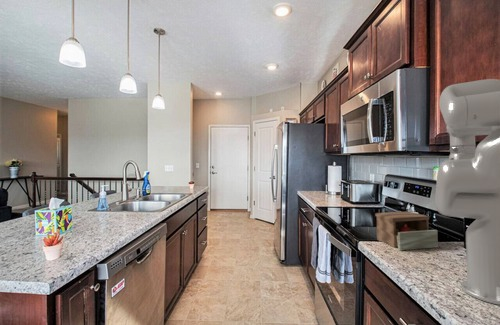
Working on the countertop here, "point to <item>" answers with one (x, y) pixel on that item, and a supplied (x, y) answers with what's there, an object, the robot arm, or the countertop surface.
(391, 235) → the cabinet
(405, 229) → the onion
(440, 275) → the countertop surface
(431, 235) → the drawer
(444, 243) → the countertop surface
